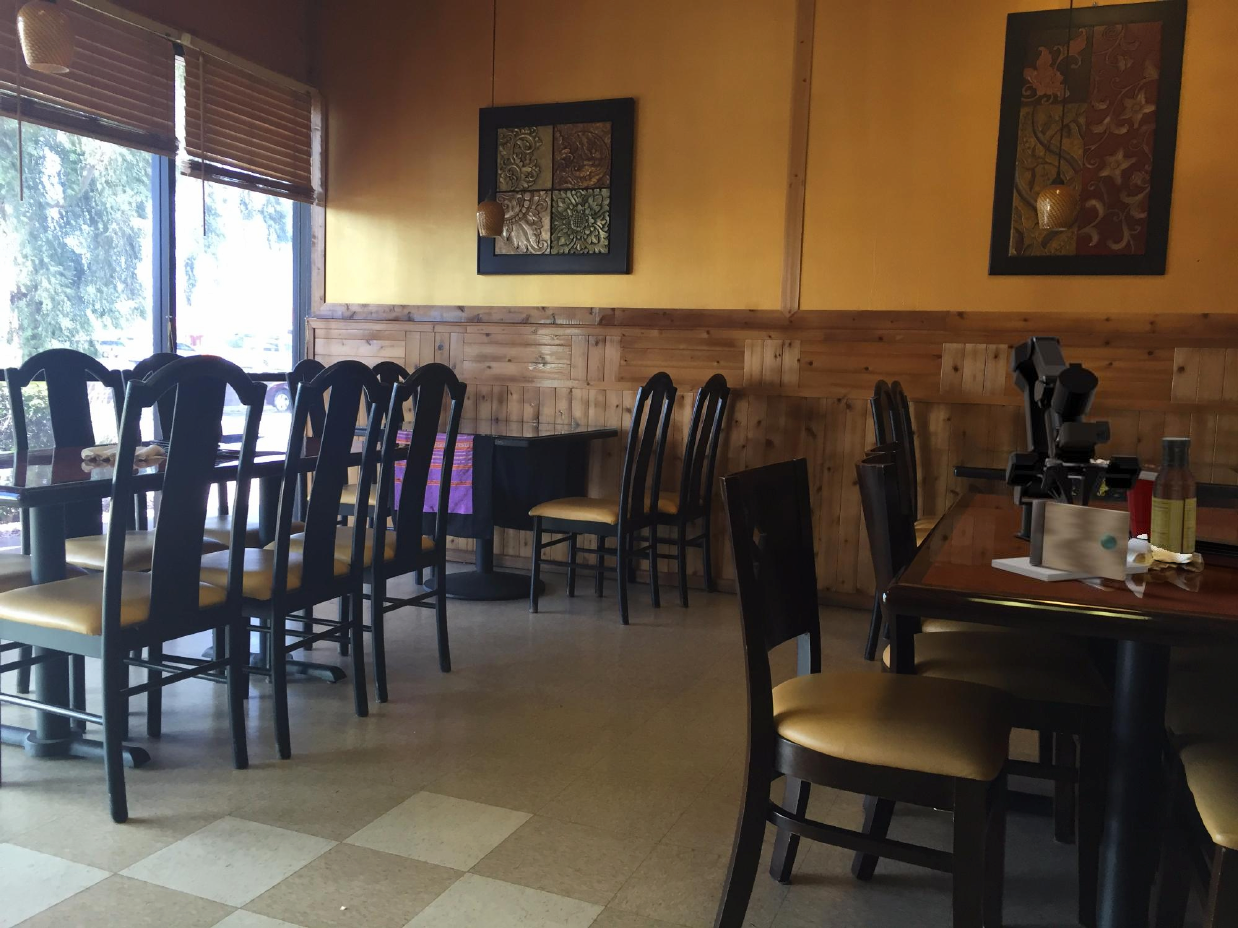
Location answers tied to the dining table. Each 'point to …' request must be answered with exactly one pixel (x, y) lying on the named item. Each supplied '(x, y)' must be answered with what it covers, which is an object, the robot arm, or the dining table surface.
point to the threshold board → (1052, 569)
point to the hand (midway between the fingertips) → (1078, 514)
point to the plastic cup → (1141, 504)
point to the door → (1080, 539)
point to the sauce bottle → (1174, 499)
